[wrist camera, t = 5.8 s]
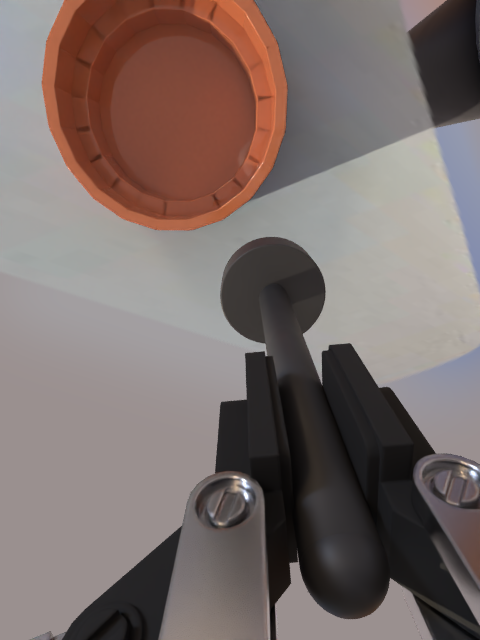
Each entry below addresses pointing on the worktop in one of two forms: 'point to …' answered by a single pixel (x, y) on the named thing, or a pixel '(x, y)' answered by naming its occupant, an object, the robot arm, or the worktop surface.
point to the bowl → (166, 105)
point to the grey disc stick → (308, 427)
